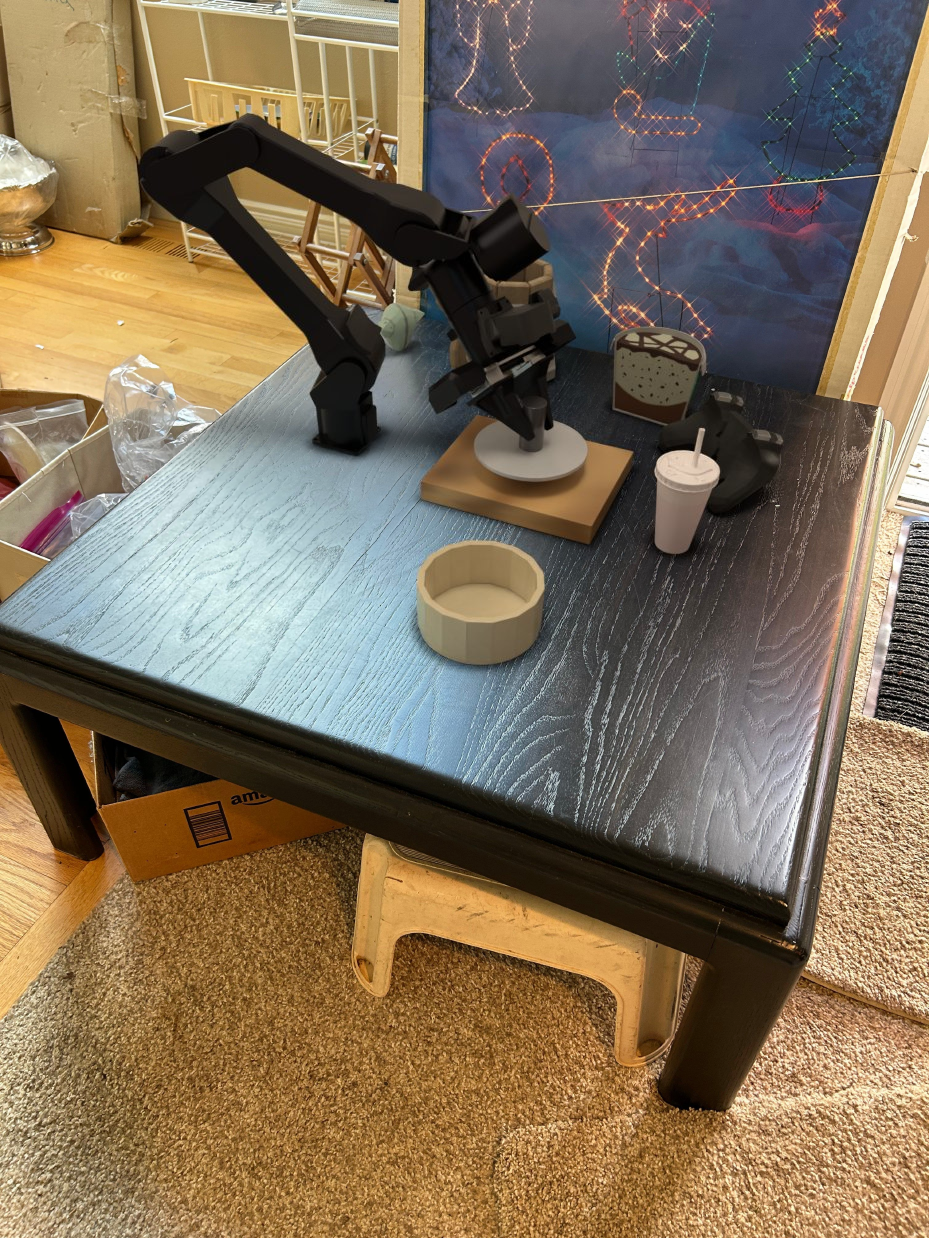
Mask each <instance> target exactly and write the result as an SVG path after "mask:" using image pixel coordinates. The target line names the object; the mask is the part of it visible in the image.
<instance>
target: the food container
mask: <svg viewBox="0 0 929 1238" xmlns="http://www.w3.org/2000/svg"><path fill="white" fill-rule="evenodd" d="M613 349H614V352H613V353H614V355H613V357H614V358H613V383H612V384H613V385H612V386H613V387H612V411H616V412H618V413H622V414H625V415H628V416H631V417H635V418H637V419H640V420H641V419H642V420H644V421H648V422H651V423H654V424H657V425H660V426H663V427H664V426H665V425H668V424H670V423H673V422H676V421H680V420H683V419H686V416H687V413H688V410H689V406H690V404H691V400H692V397H693V394H694V391H695V388H696V384H697V381H698V378H699V375H700V372H701V376H702V377H703V376H704V375H705V374H706V371H707V353H706V351H705V350H706V349H705V347H704V345H703V343H701V341H700V340H698V339H697V338H696V337H695V336H693V335H690V334H688V333H686V332H684V331H680V330H677V329H673V328H670V327H664V326H663V327H662V326H635V327H631V328H627V329H624V330H621V331H620V332H618V333H617V334H615V336H614V338H613V339H612V341H611V345H610V348H609V351H612V350H613Z"/></svg>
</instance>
